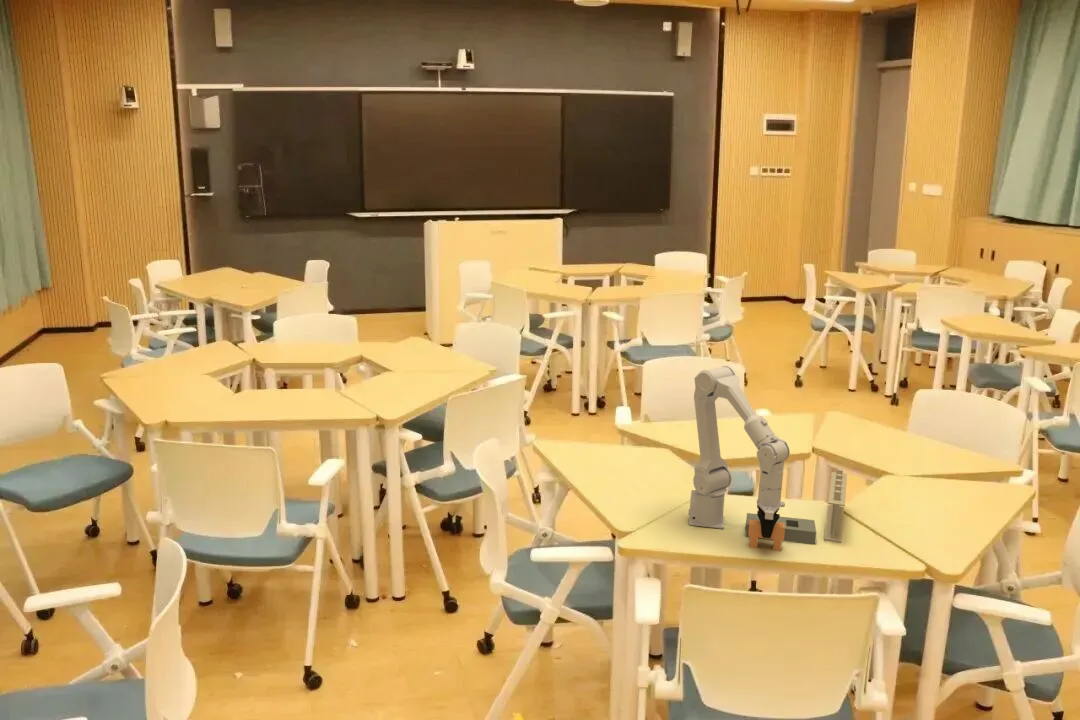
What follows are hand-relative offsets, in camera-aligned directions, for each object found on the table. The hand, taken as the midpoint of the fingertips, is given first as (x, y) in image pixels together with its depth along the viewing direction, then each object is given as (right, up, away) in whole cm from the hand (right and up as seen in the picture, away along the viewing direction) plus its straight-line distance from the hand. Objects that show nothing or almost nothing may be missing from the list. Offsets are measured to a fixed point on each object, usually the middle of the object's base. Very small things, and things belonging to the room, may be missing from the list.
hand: (766, 534), depth 239 cm
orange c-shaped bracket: (0, -3, +1) cm, 3 cm away
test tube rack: (+23, 0, +16) cm, 28 cm away
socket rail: (+6, -2, +9) cm, 10 cm away
